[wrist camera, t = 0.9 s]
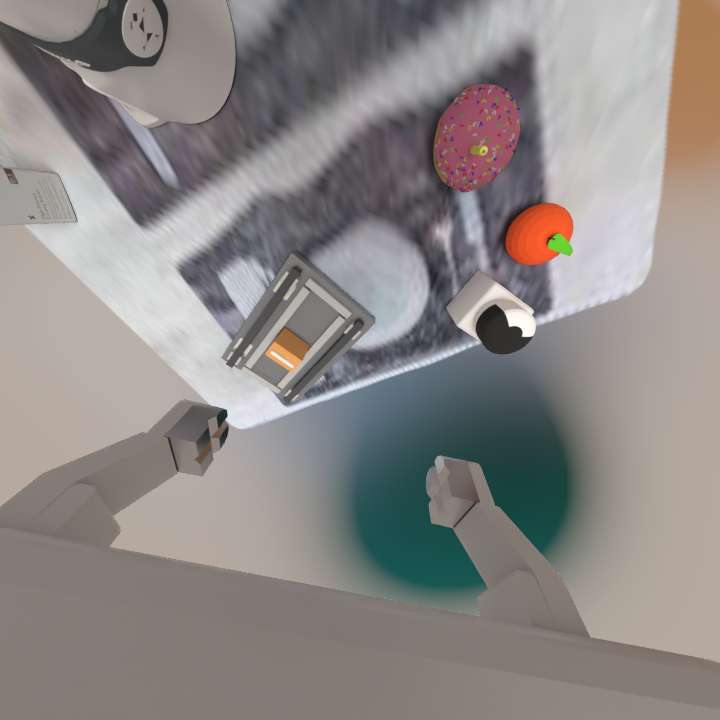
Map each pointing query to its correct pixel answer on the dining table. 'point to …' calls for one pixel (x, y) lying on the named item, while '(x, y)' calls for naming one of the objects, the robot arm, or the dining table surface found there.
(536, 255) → the clementine
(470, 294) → the medicine bottle
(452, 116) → the cupcake
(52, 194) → the skincare box
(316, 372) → the pair of dark pieces
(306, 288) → the panel
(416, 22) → the dining table surface
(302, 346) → the block
